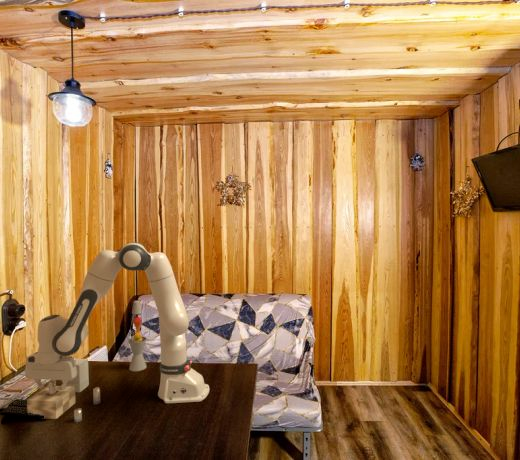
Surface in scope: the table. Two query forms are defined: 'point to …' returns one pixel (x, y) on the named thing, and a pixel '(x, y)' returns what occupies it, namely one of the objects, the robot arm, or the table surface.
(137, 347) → the lava lamp
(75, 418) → the short steel pin
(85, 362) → the supplement box
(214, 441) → the table surface
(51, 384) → the long steel pin
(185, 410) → the table surface
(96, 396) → the medium steel pin
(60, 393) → the birch hole block
